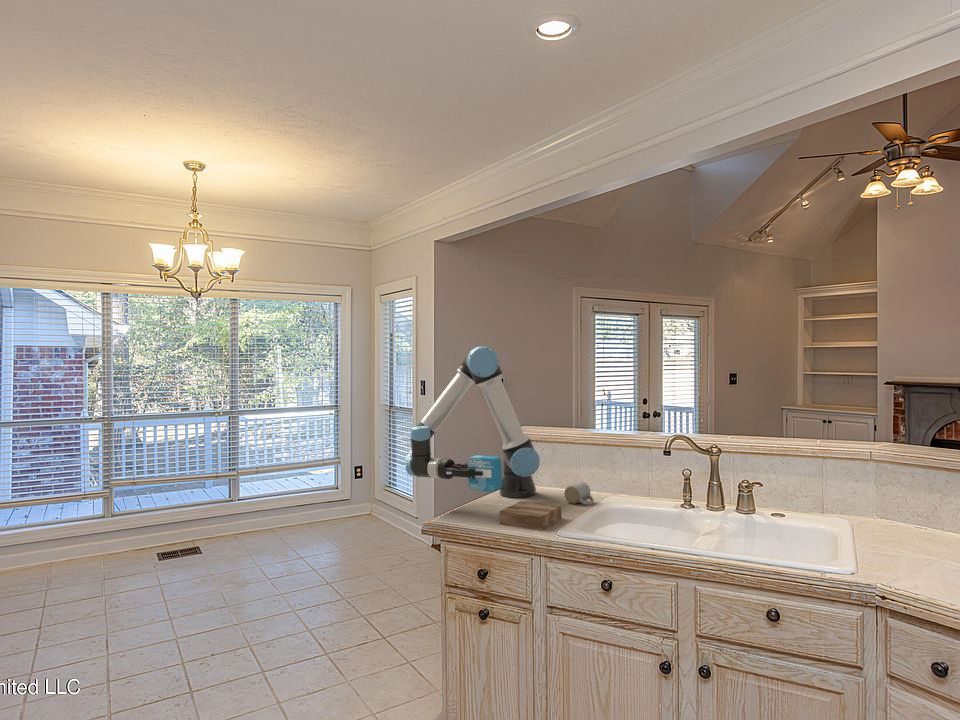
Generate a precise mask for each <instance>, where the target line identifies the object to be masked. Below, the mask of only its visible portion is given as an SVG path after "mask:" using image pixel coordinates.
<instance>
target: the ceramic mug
mask: <svg viewBox="0 0 960 720" xmlns="http://www.w3.org/2000/svg"><path fill="white" fill-rule="evenodd" d="M564 498H565V500H566V501H567V502H568V503H569V504H572V505H573V504H574V505H575V504H578V503H581V504H583V505H585V506H592V505H593V503H594V497H592V496H591V488H590V487H589V485H588V483H586V482H585V481H583V480H580V481H576V482H575V483H572V484H570V485H568V486H567V487H566V488H565V489H564ZM587 500H589V501H587Z"/></svg>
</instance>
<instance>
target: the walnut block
mask: <svg viewBox="0 0 960 720" xmlns="http://www.w3.org/2000/svg"><path fill="white" fill-rule="evenodd" d="M562 514H563V513H562V505H559V504H557V505H556V504H551V503H549V504H548V503H540V502H533V501H525V500H524V501H523V500H520V501H518V502H515V503H514V504H511V505H509V506H507V507H505V508H504V509H501V510H499V525H501V524H502V525H503V526H510V527H516V528H522V529H529V530H530V529H531V530H538V531H543V530H545V529H547V528H548V527H550V526H552V525H554V524H555V523H557V522H558V521H560V520H562ZM502 525H501V526H502Z"/></svg>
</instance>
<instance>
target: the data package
mask: <svg viewBox="0 0 960 720" xmlns="http://www.w3.org/2000/svg"><path fill="white" fill-rule="evenodd" d="M467 464H468V469H474V470H475V469H485V470H492V478H486V477H476V476H475V479H472V477H470V478H468V477H467V481H468V482H467V483H468V485H467V486H468V488H469V489H470V490H471V491H480V492H491V493H494V492H495V493H496V492H497V491H500V489H501V488H502V479H503V470H502V469H503V467H502V466H503V465H502V464H503V463H502V459H501V457H500V456H496V455H495V456H492V455H491V456H490V455H478V454H477V455H473V456H470V457H468V458H467Z"/></svg>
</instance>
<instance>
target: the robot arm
mask: <svg viewBox="0 0 960 720" xmlns="http://www.w3.org/2000/svg"><path fill="white" fill-rule="evenodd" d="M456 372H457V373H456V375H454V377H453V378H452V379H451V380H450V382H449V384H448V385H447V386H446V387H445V388H444V390H443V391H442V393H441V394H440V395H439V396H438V398H437V399H436V401H435V402H434V403H433V405H432V406H431V407H430V408H429V410H428V411H427V413H426V414H425V415H424V416H423V417H422V419H421V420H420V422H419V423H418V425H416V426H413V427H411V428H410V448H411V457H409V458H407V460H406V464H405V470H406V473H407V474H408V475H410V476H412V477H416V478H429V479H430V478H431V479H433V478H434V479H435V480H438V479H443V480H450V479H451V480H452V479H453V478H454V477H457V478H458V477H459V478H467V479H468V478H470V477H472V479H475V476H476V477H486V478H492V470H485V469H475V470H474V469H468V463H466V462H465V463H463V464H462V463H455V461H454V460H453V459H451V458H441V457H439V458H438V457H432V453H431V451H432V450H431V439H432V438H433V436H434V435H435V433H436V432H437V430H438V429H439V428H440V426H441V425H442V424H443V423H444V421H445V420H446V419H447V418H448V416H449V415H450V414H451V412H452V411H453V410H454V408H455V407H456V405H458V403H459V402H460V400H461V399H462V398H463V397H464V395H465V394H466V392H467V391H468V390H469V389H470V387H471V386H472V385H473V384H475V386H477V387H479V388H480V389H481V391H482V394H483V396H484V398H485V401H486V403H487V405H488V407H489V410H490V413H491V416H492V417H493V421H495V424H496V428H497V429H498V432H499V433H500V437H501V439H502V446H501V447H502V459H503V460H502V461H503V463H502V464H503V465H502V466H503V467H502V469H503V470H502V473H503V474H502V488H501V489H500V490H499V494H500V496H502V497H505V496H506V498H512V497H514V499H515V498H516V499H520V498H521V499H522V498H529V497H532V496H533V497H534V496H535V495H536V494H537V488H536V485H535V483H534V480H533V475H534V474H535V473H536V472H537V471H538V470H539V468H540V465H541V459H540V456H539V453H538V452H537V451H536V449H535V448H534V445H533V443H532V440H531V438H530V436H529V435H526V434H525V433H524V431H523V429H522V426H521V423H520V421H519V420H518V417H517V414H516V412H515V410H514V407H513V404H512V402H511V400H510V398H509V395H508V393H507V391H506V388H505V386H504V382H503V381H502V377H503V371H502V369H501V366H500V363H499V357H498V354H497V353H496V352H495V350H493V349H492V348H491V347H489V346H485V345H481V346H480V345H478V346H476V347H473V348H471V349H470V350H469V351H468V352H467V353H466V354H465V357H464V358H463V360H462V362H461V363H460V365H459V366H458V368H457V370H456Z"/></svg>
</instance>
